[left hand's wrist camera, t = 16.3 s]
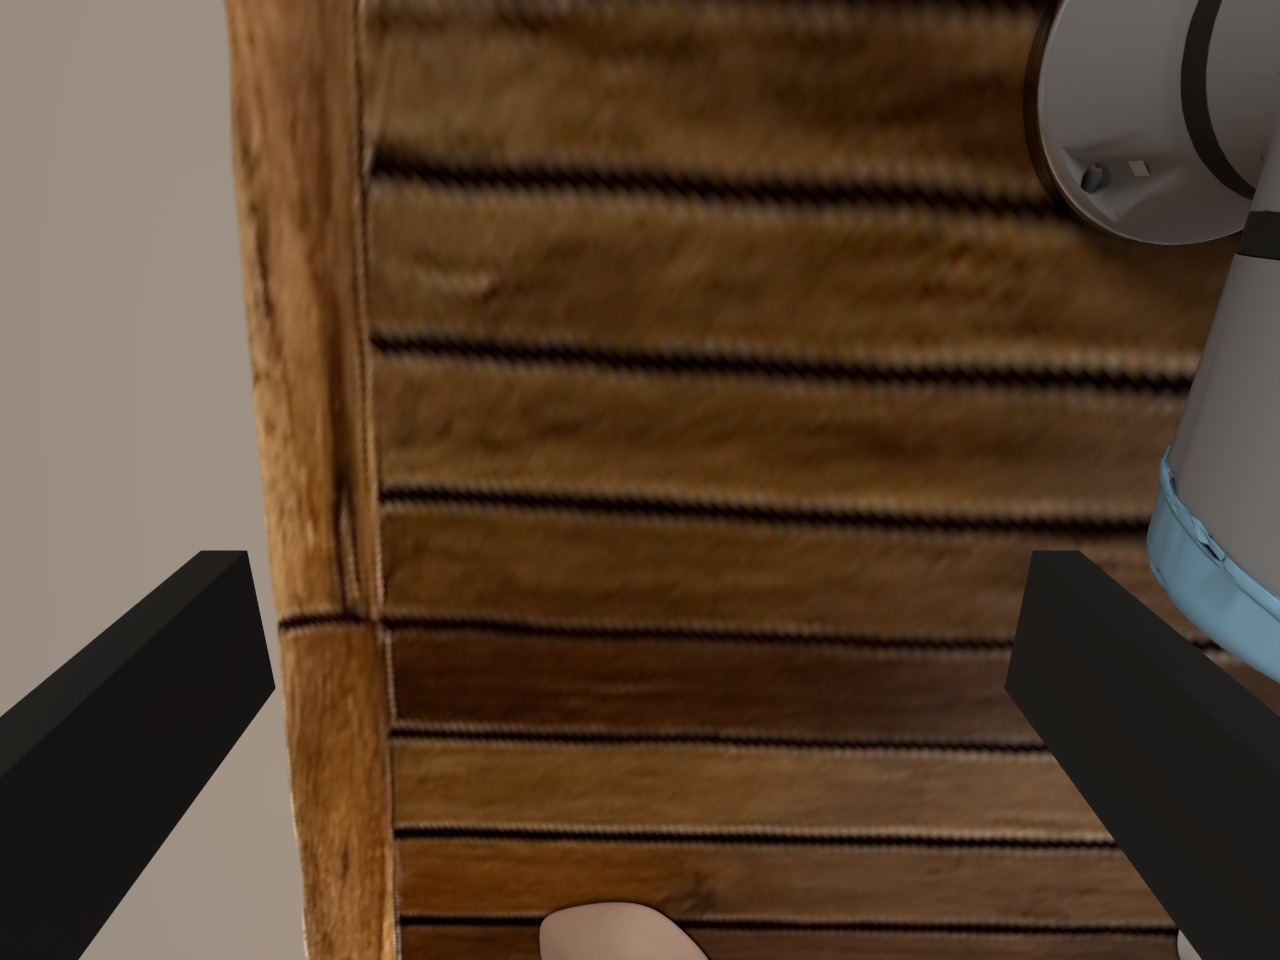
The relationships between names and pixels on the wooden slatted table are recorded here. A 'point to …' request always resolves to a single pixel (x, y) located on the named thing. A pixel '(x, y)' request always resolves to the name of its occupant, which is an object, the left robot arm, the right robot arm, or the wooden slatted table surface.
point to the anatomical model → (614, 934)
